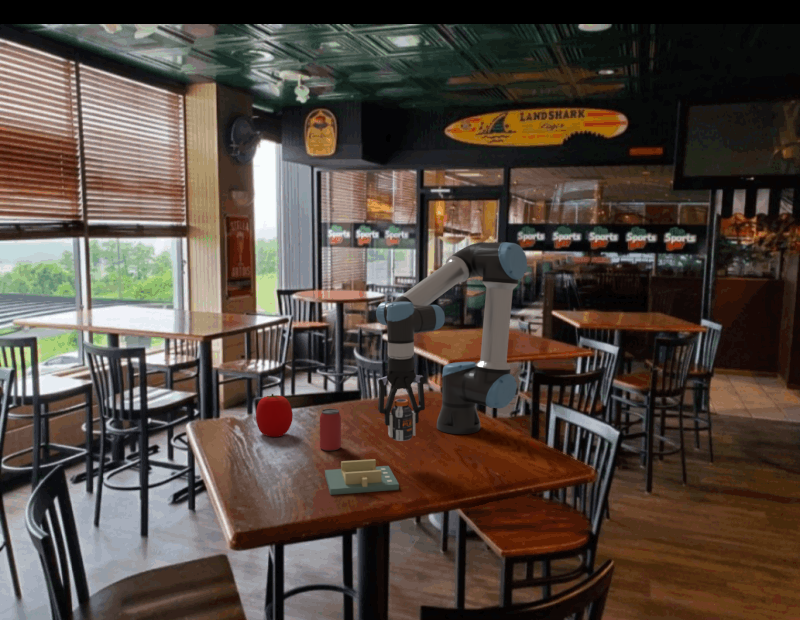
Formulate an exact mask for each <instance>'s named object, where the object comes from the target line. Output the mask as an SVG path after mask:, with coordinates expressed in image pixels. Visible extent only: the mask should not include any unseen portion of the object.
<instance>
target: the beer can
mask: <svg viewBox="0 0 800 620" xmlns="http://www.w3.org/2000/svg"><path fill="white" fill-rule="evenodd" d="M341 447H342V416H341V413H340V410H339V409H337V408H324V409H321V413H320V416H319V448H320V449H321V450H322V451H327V452H334V451H338V450H339V449H341Z"/></svg>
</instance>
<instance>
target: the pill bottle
mask: <svg viewBox="0 0 800 620" xmlns="http://www.w3.org/2000/svg"><path fill="white" fill-rule="evenodd" d="M409 404H410V403H409V400H408V399H406V398H397V399H394V402H393V405H394V406H392V408H391V411H390V413H391V414H392V417H393V437H391V439H392V440H394V441H398V442H406V441H410V440H411V439H412V438H413V435H412V411H413V408H411V407H410V406H409Z"/></svg>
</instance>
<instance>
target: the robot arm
mask: <svg viewBox="0 0 800 620" xmlns="http://www.w3.org/2000/svg"><path fill="white" fill-rule="evenodd" d="M527 269H528V259H527V255H526V253H525V251H524V249H523V247H521V246H520V245H519V244H517V243H515V242H507V241H506V242H505V241H503V242H501V241H500V242H499V241H498V242H497V241H495V242H484V241H479V242H475V243H472V244H469V245H467V246H465V247H463V248H462V249H459V250H458V251H457V252H455V253H453V254H452V255H450V256H449V257H448V258H446V261H445V264H443V265H442V266H440V267H439V268H438V269H436V270H435V271H433V272H432V273H431V274H430V275H428V276H427V277H425V278H423V279H422V280H421V281H420V282H418V283H417V284H415V285H414V286H413V287H412V288H410V289H408V290H407V291H406V292H404V293H403V294H401V295H400V296H399V297H397V298H396V299H394V300H392V301H390V300H389V301H388V300H387V301H383V302H381V303H380V304H378V306H377V308H376V311H375V316H376V320H377V322H378V323H379V324H380V325H383V326H386V329H387V330H386V333H387V356H388V358H387V372H386V375H385V376H384V377H378V378H377V384H378V400H377V401H378V402H377V411H378V412H379V413H380V414H383V415H384V424H385V426H387V433H388V437H389V438H391V439H392V437H393V417H392V414H391V410H392V408H393V405H394V402H395V398H396V397H395V396H396V394H397V393H398V390H401V389H403V390H406V393H407V395H408V397H409V401H410V404H411V407H412V408H411V409H412V437H413V436H415V437H416V424H419V422H420V421H419V420H420V419H419V413H420V412H422V411H425V409H426V403H425V392H424V391H425V390H424V389H425V388H424V387H425V386H424V384H425V380H426V379H425V378H426V377H425V376H423V375H422V374H419V375H418V374H416V372H415V357H414V355H415V334H420V333H425V332H433V331H437V330H439V329H441V328H442V327H443V326H444V323H445V321H446V320H445V319H446V317H445V311H444V310H443V308H442V307H441V306H439V305H437V304H432V303H433V302H434V301H435V300H437V299H438V298H439V297H441V296H443V294H445V293H446V292H447V291H449V290H450V289H452V288H453V287H454V286H456V285H457V284H459V283H464V282H466V281H468V279H471V278H476V277H480V278H481V277H482V278H481V279H482V280H481V281H482V282H481V283H482V284H483V285H484V286H485V288H486V289H485V300H484V301H485V303H484V312H483V314H484V315H483V324H482V335H481V336H482V337H481V350H480V360H478V361H477V362H475V361H460V362H459V361H458V362H457V361H456V362H452V363H447V364H445V365H444V366H443V368H442V375H441V377H442V379H441V382H442V383H441V384H442V386H441V387H442V388H441V393H442V394H441V395H442V396H441V398H442V400H441V401H442V402H441V409H440V411H439V414H438V417H437V421H436V429H437V430H438V431H441V432H443V433H446V434H451V435H470V434H475V433H477V432H479V431H481V419H480V417H479V413H478V410H477V405H482V406H485V407H488V408H491V409H492V408H493V409H494V408H495V409H504V408H506V407H508V406H509V404H510V403H511V402H512V401H513V399H514V398H515V395H516V392H517V387H518V384H517V379H516V377H515V375H512V374H511V369H512V368H511V366H510V365H509V364H508V362H507V359H508V349H509V336H510V327H511V326H510V324H511V315H512V314H511V313H512V304H513V303H512V300H513V291H514V289H515V288H516V287H517V286H518V285H519V280H521V279H522V278H524V276H525V274H526V273H527ZM414 381H415V382H416V383H417V384H416V385H417V398H418V404H417V400H416V397H415V395H414V392H413V387H412V384H413V383H414ZM387 382H389V384H390V388H389V389H390V390H389V393H388V397H387V399H386V403H385V392H386V389H385V388H386V387H385V386H386V385H387ZM476 404H477V405H476Z"/></svg>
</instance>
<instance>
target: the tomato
mask: <svg viewBox="0 0 800 620" xmlns="http://www.w3.org/2000/svg"><path fill="white" fill-rule="evenodd" d="M293 413H294V412H293V409H292V406H291V403H290V401H289V400H288V399H287V398H286V397H285V396H283V395H277V394H276V395H275V394H274V393H271V395H263V397H262V398H261V399H260V400H259V401H258V403H257V405H256V411H255V421H256V425H257V428H258V431H259V432H260V433H261V434H262V435H264V436H265V437H270V438H279V437H282V436H284V435H285V434H287V432H288V431H289V430H290V429H291V428H290V427H291V425H292V423H293V418H294V417H293V416H294V415H293Z"/></svg>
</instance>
